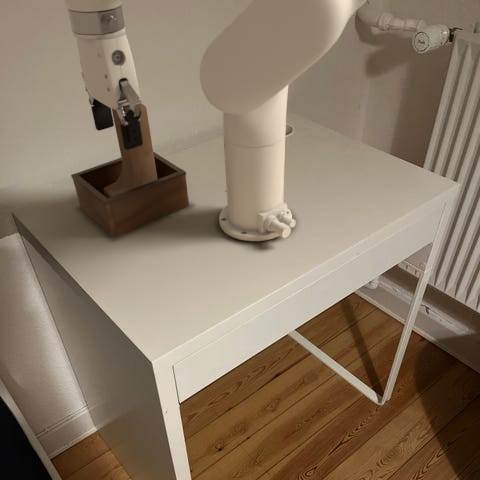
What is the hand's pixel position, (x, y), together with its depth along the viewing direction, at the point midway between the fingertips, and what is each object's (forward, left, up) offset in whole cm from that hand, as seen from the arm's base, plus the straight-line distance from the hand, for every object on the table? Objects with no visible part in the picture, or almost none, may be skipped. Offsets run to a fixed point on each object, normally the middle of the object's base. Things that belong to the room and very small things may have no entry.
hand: (119, 137), depth 84 cm
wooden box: (0, 0, -13) cm, 13 cm away
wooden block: (0, 0, -13) cm, 13 cm away
